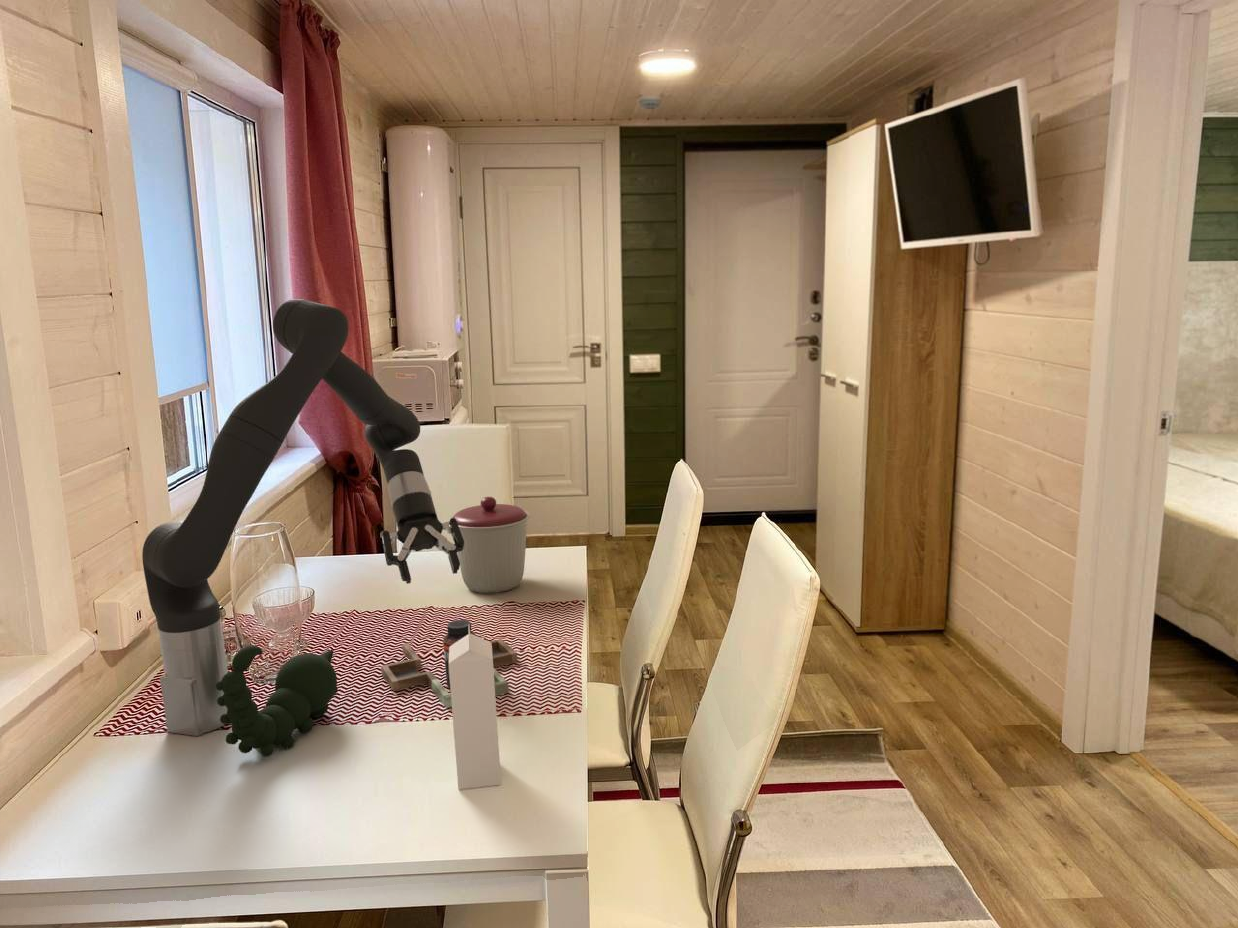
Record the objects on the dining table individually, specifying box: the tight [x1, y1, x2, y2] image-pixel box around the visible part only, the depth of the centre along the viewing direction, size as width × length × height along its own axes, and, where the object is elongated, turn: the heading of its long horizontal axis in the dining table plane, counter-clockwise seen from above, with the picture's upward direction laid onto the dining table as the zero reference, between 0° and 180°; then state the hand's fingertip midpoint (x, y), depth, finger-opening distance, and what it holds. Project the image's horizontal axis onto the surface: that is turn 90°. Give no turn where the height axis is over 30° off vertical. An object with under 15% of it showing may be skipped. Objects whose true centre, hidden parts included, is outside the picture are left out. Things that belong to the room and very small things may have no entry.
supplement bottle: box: [442, 619, 478, 689], centre depth 162 cm, size 6×6×11 cm
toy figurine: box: [216, 645, 339, 757], centre depth 146 cm, size 9×19×25 cm
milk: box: [449, 624, 502, 791], centre depth 131 cm, size 6×6×22 cm
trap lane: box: [380, 638, 518, 709], centre depth 169 cm, size 27×23×2 cm
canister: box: [448, 496, 531, 594], centre depth 212 cm, size 18×18×21 cm
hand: (432, 576), depth 169 cm, fingers open, 8 cm apart
